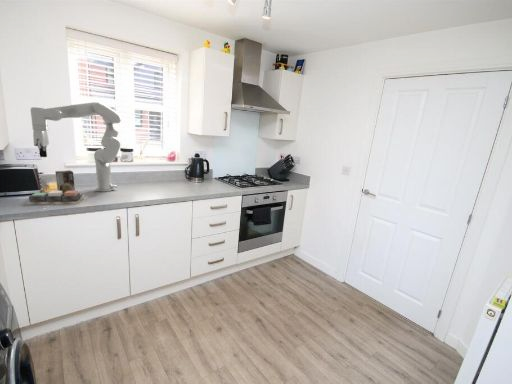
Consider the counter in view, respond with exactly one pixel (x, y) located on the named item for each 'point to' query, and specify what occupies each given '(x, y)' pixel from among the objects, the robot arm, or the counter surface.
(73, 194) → the terracotta button
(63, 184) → the coffee box
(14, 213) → the counter surface
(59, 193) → the cream button
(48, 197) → the button panel
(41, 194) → the sage button
